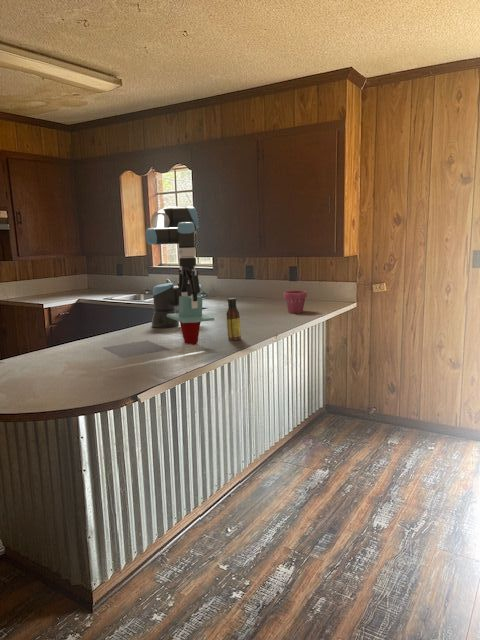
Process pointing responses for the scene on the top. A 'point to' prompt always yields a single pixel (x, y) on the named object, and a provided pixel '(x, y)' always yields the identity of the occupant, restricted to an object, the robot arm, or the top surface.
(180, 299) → the lid
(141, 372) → the top surface
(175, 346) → the top surface
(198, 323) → the plastic cup
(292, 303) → the plant pot
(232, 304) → the sauce bottle
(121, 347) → the mat
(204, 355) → the top surface
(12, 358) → the top surface
